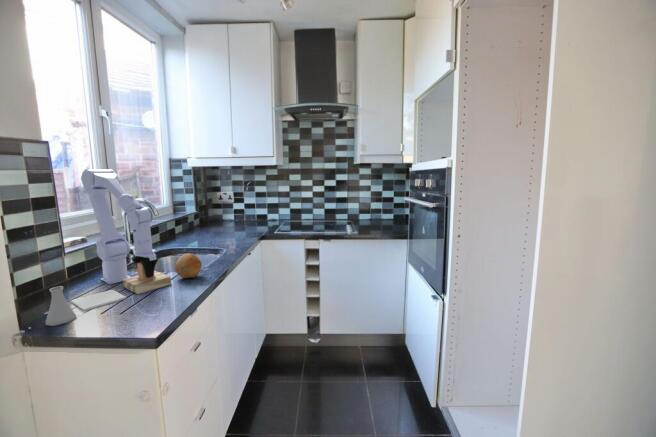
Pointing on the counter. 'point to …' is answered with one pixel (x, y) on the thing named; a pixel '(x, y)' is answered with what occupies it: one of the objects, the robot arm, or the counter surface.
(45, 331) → the counter surface
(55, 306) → the flask
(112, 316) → the counter surface
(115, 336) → the counter surface
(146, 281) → the pocket block
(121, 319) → the counter surface
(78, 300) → the mat
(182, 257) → the onion
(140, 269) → the peg
